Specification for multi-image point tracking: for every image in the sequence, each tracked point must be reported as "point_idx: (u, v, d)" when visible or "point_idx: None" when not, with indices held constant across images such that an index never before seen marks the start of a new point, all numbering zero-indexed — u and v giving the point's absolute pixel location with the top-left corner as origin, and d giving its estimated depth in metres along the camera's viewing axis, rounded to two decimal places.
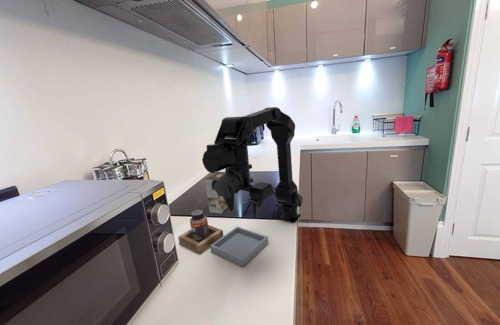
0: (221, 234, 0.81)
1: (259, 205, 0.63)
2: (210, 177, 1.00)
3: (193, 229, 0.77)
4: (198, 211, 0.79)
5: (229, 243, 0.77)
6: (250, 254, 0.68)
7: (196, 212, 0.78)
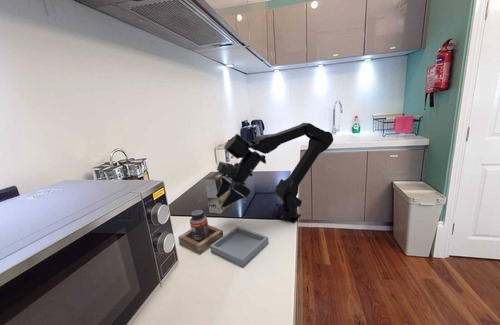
0: (221, 234, 0.81)
1: (231, 199, 0.75)
2: (210, 177, 1.00)
3: (193, 229, 0.77)
4: (198, 211, 0.79)
5: (229, 243, 0.77)
6: (250, 254, 0.68)
7: (196, 212, 0.78)
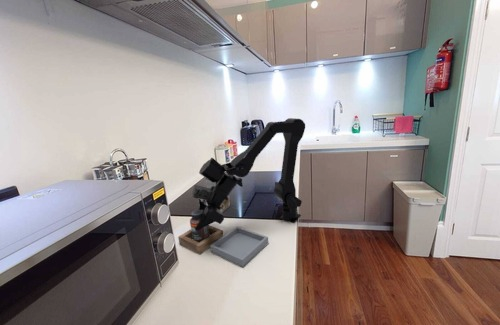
0: (221, 234, 0.81)
1: (205, 222, 0.75)
2: None
3: (193, 229, 0.77)
4: (198, 211, 0.79)
5: (229, 243, 0.77)
6: (250, 254, 0.68)
7: (196, 212, 0.78)
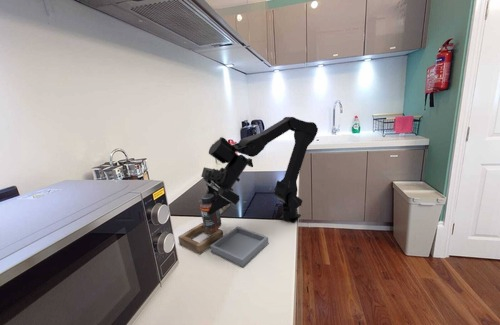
0: (221, 234, 0.81)
1: (218, 205, 0.71)
2: None
3: (205, 214, 0.72)
4: (208, 195, 0.74)
5: (229, 243, 0.77)
6: (250, 254, 0.68)
7: (206, 196, 0.74)
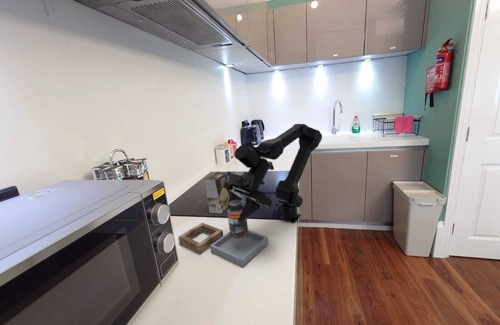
0: (221, 234, 0.81)
1: (249, 211, 0.70)
2: (210, 177, 1.00)
3: (235, 221, 0.70)
4: (235, 201, 0.72)
5: (229, 243, 0.77)
6: (250, 254, 0.68)
7: (234, 202, 0.71)
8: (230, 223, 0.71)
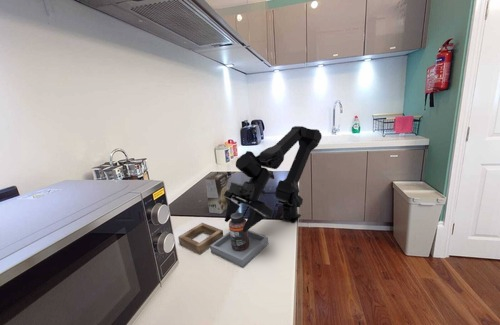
0: (221, 234, 0.81)
1: (252, 221, 0.69)
2: (210, 177, 1.00)
3: (236, 234, 0.71)
4: (237, 214, 0.73)
5: (229, 243, 0.77)
6: (250, 254, 0.68)
7: (236, 215, 0.72)
8: (231, 236, 0.72)
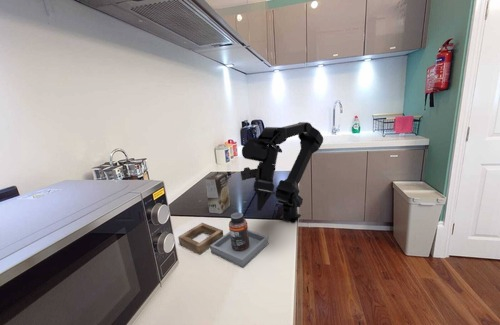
0: (221, 234, 0.81)
1: (262, 199, 0.72)
2: (210, 177, 1.00)
3: (236, 234, 0.71)
4: (237, 214, 0.73)
5: (229, 243, 0.77)
6: (250, 254, 0.68)
7: (236, 215, 0.72)
8: (231, 236, 0.72)
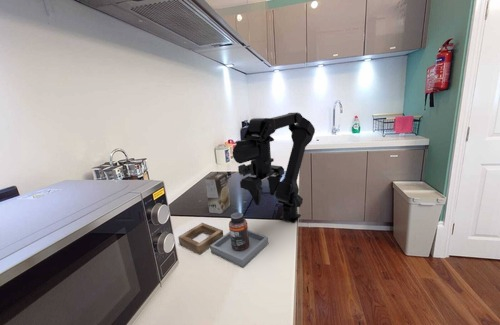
0: (221, 234, 0.81)
1: (255, 195, 0.74)
2: (210, 177, 1.00)
3: (236, 234, 0.71)
4: (237, 214, 0.73)
5: (229, 243, 0.77)
6: (250, 254, 0.68)
7: (236, 215, 0.72)
8: (231, 236, 0.72)
